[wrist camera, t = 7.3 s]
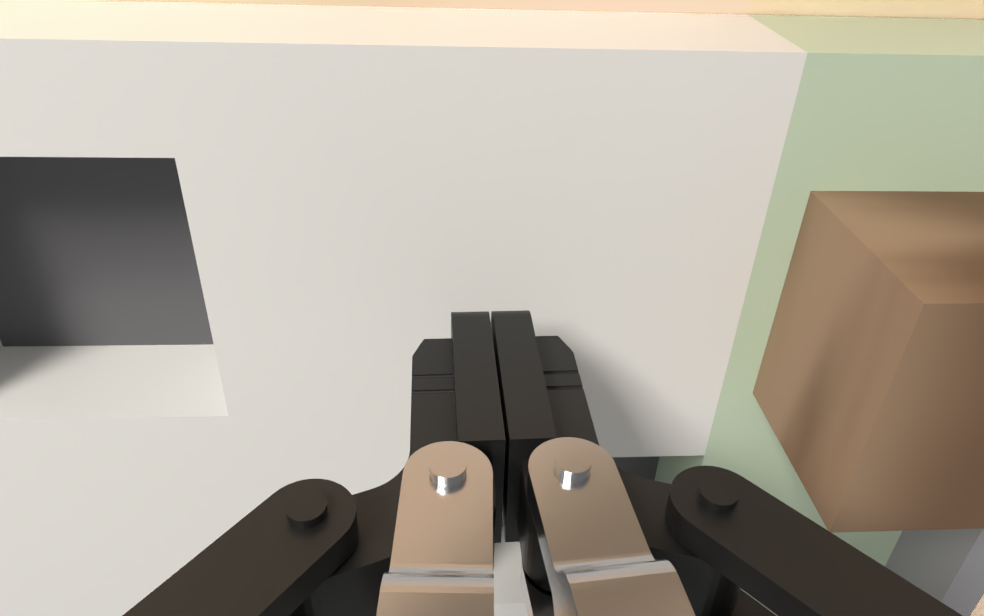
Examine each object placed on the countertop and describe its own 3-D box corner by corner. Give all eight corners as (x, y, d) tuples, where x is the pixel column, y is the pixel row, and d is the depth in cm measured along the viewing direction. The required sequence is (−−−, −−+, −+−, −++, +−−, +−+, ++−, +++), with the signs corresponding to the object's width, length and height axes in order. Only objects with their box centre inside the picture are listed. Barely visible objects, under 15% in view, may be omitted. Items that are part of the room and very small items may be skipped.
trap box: (1068, 21, 16) (1293, 94, 12) (848, 530, 25) (932, 675, 21) (-181, -6, 14) (-439, 69, 10) (57, 553, 23) (-27, 717, 19)
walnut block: (1056, 192, 15) (1238, 302, 11) (961, 390, 17) (1085, 525, 14) (811, 190, 14) (923, 303, 11) (752, 393, 17) (828, 532, 14)
